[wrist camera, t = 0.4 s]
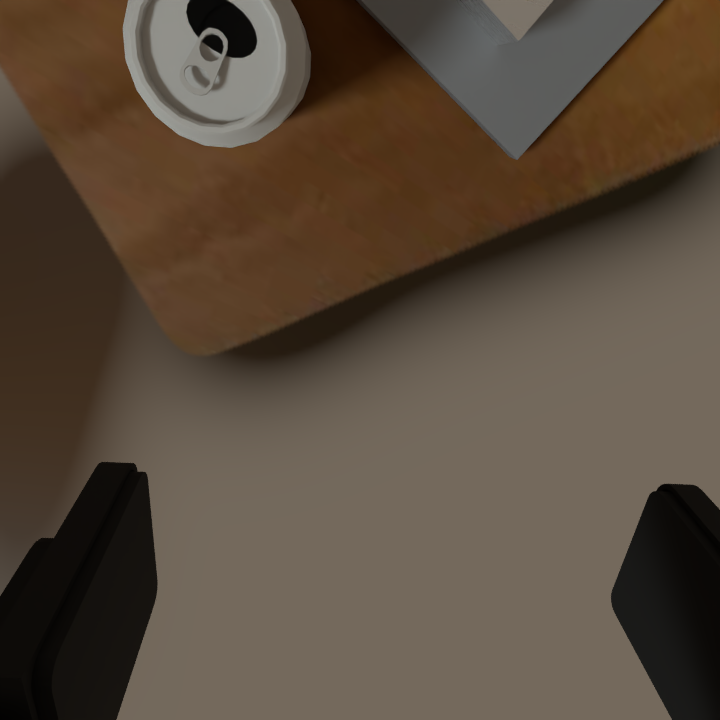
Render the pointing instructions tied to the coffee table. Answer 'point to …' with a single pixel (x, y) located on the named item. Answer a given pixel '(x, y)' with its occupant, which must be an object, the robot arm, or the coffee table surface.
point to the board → (512, 58)
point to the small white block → (505, 17)
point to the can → (218, 65)
